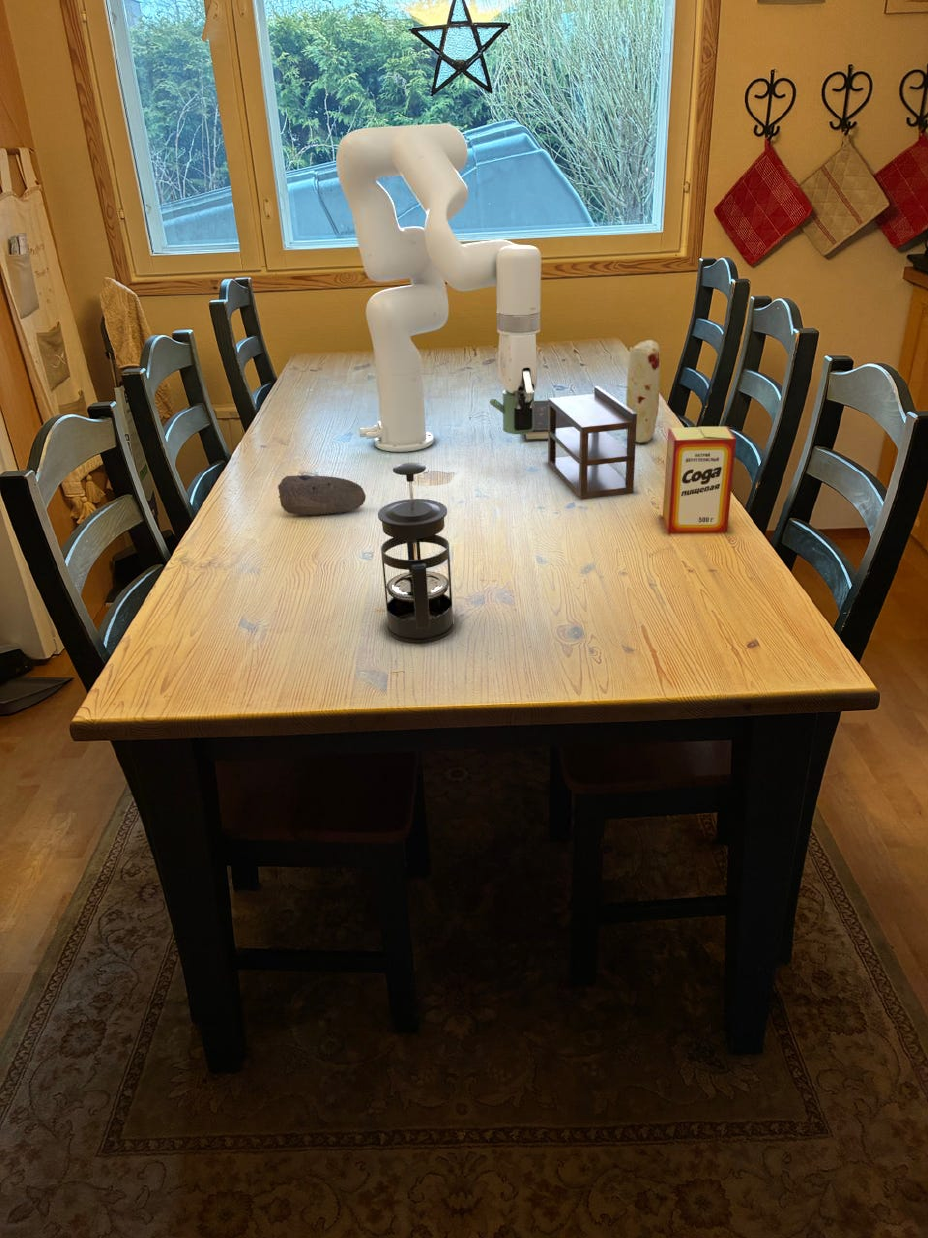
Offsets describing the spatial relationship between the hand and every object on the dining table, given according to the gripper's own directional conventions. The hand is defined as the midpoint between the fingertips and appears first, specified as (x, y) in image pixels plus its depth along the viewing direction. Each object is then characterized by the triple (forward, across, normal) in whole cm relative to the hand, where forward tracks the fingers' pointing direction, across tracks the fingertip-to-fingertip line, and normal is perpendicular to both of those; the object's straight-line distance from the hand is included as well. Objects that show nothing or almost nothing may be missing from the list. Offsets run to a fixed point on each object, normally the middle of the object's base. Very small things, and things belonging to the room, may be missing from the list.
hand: (518, 423), depth 171 cm
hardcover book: (+12, -33, +18) cm, 40 cm away
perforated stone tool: (+12, +4, -37) cm, 39 cm away
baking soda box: (+11, +29, +22) cm, 38 cm away
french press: (+11, +51, -28) cm, 59 cm away
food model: (+12, -17, +31) cm, 38 cm away
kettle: (+1, 0, -1) cm, 2 cm away
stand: (+11, +2, +13) cm, 18 cm away
